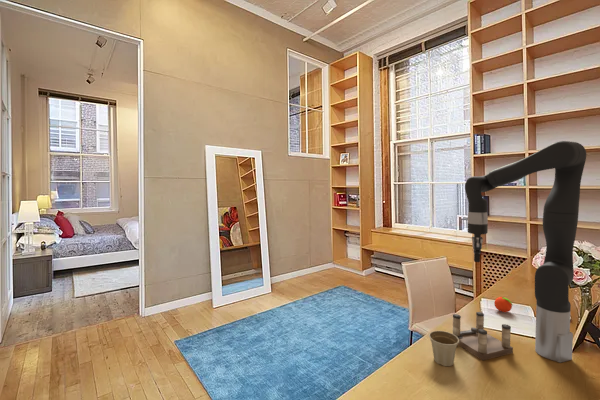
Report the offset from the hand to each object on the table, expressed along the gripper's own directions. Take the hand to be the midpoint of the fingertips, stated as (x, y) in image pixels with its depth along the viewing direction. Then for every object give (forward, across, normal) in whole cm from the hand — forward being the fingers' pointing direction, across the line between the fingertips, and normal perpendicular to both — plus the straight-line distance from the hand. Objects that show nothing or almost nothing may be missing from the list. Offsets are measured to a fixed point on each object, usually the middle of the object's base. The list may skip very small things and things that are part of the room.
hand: (476, 261), depth 131 cm
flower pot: (+27, -38, +11) cm, 48 cm away
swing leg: (+24, -19, +5) cm, 31 cm away
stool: (+27, -22, -1) cm, 35 cm away
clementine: (+27, +16, -12) cm, 34 cm away
